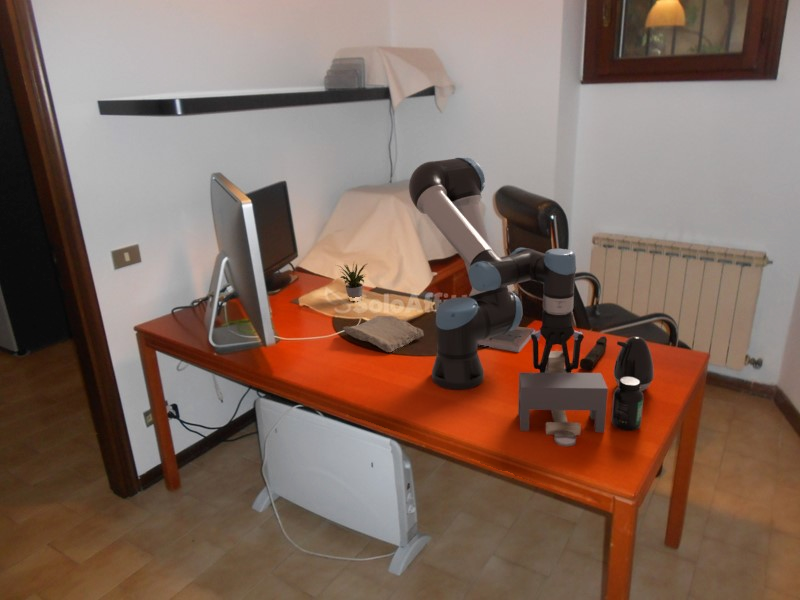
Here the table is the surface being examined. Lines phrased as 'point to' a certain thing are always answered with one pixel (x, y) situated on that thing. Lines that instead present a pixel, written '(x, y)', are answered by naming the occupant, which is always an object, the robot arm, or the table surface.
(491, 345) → the picture frame
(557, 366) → the ash-wood pusher
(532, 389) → the grey step stool
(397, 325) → the flat stone slab
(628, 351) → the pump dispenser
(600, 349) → the hand tool
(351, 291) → the house plant
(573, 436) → the steel token
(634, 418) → the supplement bottle
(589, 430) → the table surface
